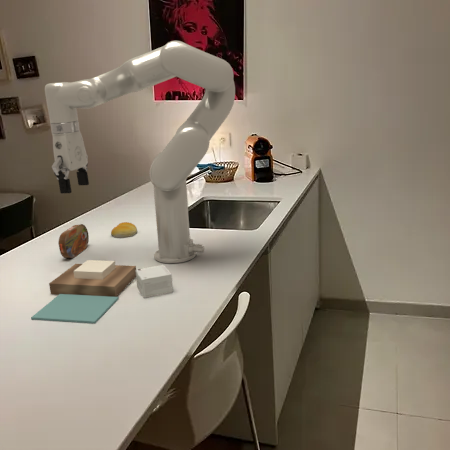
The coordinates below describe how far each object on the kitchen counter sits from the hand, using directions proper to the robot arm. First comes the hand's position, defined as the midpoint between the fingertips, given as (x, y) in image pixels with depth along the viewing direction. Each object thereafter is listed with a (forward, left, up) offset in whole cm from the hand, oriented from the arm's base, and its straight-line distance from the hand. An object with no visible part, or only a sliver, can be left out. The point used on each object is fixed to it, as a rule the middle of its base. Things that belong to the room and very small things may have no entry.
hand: (75, 188), depth 147 cm
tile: (-11, +15, -20) cm, 27 cm away
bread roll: (-1, -27, -23) cm, 36 cm away
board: (-11, +16, -23) cm, 29 cm away
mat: (-13, +30, -23) cm, 39 cm away
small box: (-28, +17, -23) cm, 40 cm away
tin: (+7, -7, -23) cm, 25 cm away
